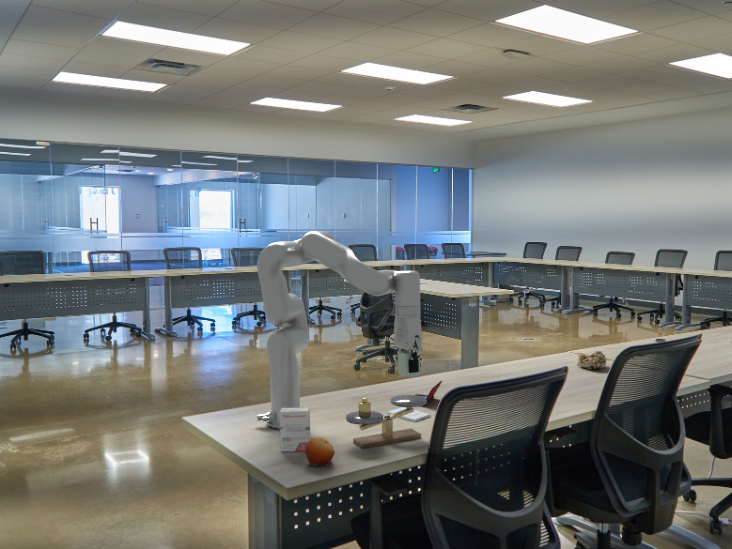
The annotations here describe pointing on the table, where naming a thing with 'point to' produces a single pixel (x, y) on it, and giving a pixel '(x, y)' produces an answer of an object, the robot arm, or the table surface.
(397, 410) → the external hard drive
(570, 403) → the table surface
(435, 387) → the handheld game console
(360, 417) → the balance
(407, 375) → the sage block
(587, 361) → the mineral formation
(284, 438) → the ink box
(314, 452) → the fruit
